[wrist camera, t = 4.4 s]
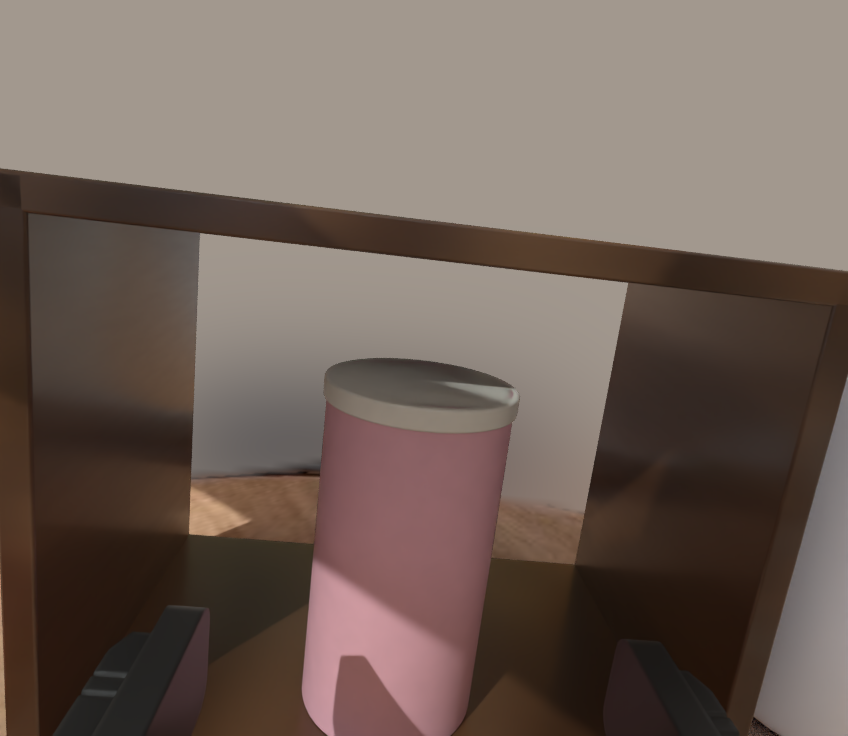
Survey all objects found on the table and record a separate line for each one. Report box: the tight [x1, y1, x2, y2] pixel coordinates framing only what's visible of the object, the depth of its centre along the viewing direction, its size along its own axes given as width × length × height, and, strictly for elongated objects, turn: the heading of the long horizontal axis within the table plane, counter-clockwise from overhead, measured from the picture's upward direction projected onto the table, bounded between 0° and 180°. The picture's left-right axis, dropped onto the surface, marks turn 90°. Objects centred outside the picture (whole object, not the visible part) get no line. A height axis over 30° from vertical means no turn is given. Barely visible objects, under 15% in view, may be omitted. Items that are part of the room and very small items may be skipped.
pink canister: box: [302, 358, 520, 736], centre depth 18 cm, size 5×5×10 cm
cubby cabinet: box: [0, 169, 848, 736], centre depth 21 cm, size 19×12×15 cm, turn 93°
